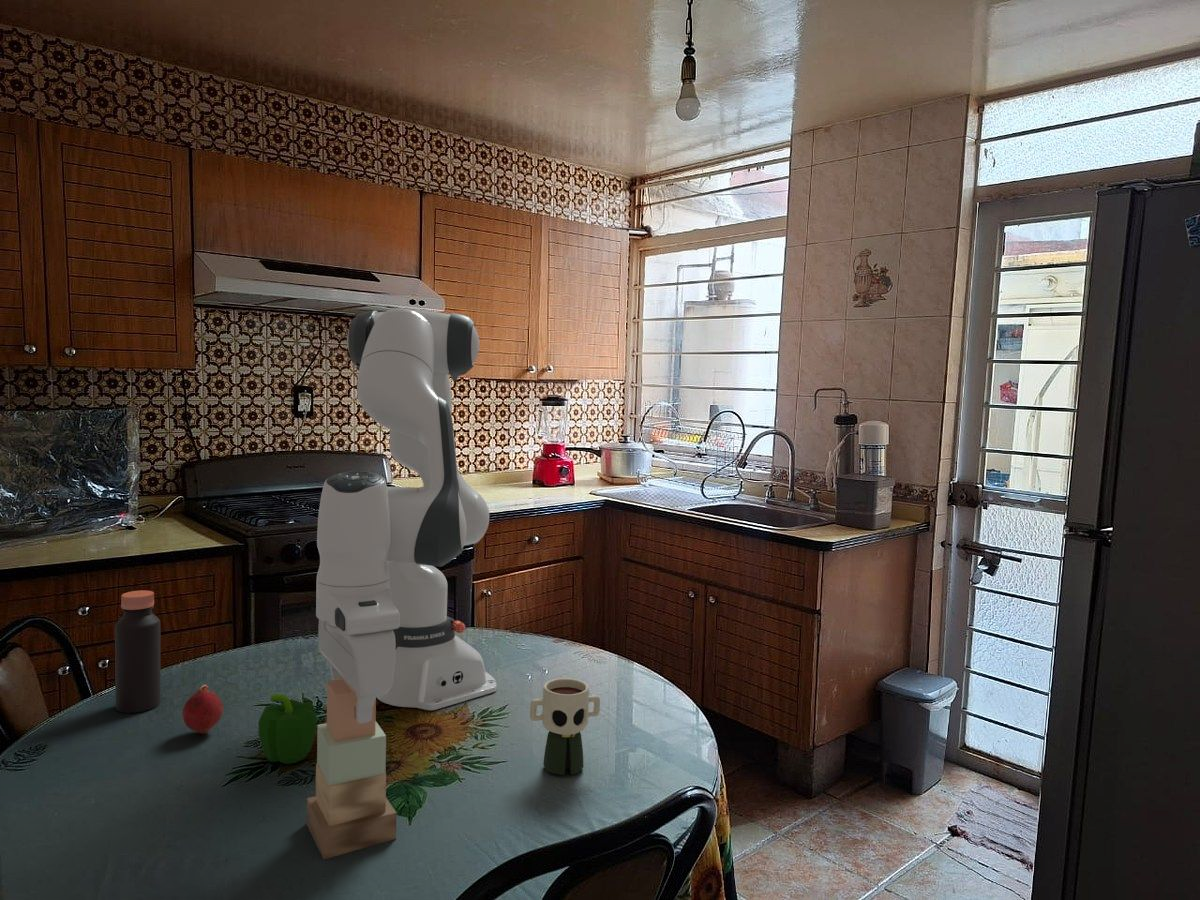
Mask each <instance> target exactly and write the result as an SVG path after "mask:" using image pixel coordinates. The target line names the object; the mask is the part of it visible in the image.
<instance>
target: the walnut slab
mask: <svg viewBox="0 0 1200 900" xmlns="http://www.w3.org/2000/svg"><path fill="white" fill-rule="evenodd" d="M397 814H398V813H397V811H396V810H395V808H394V807H393V806H392V804H391V803H390V801H389V800H388V798H387V797H386V812H382V813H378V814H375V815H371V816H367V817H363V818H359V819H356V820H352V821H348V822H344V823H340V824H337V825H333V826H329V825H328V823H327V821H326V819H325V817H324V815H323V813H322V811H321V810H320V808H319V806H318V804H317V802H316V795H314V796H311V797H310V796H309V797H307V798H306V825H307V828H308V830H309V832H310V833H311V834H310V835H312V838H313V840H314V842H315V844H316V846H317V849H318V851H319V853H320V855H321V856H322V859H323V860H327V859H330V858H334V857H337V856H341V855H345V854H347V853H351V852H355V851H357V850H362V849H366V848H369V847H372V846H376V845H380V844H383V843H387V842H391V841H393V840H396V839H397Z"/></svg>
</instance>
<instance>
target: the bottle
mask: <svg viewBox="0 0 1200 900" xmlns="http://www.w3.org/2000/svg"><path fill="white" fill-rule="evenodd" d="M120 599H121V602H120V603H121V604H120V608H121V611H122V612H123V615H122V616H121V618H119V619H118V621H116V622H115V625H114V626H115V627H114V633H115V634H114V652H115V653H114V654H115V655H114V656H115V659H114V665H115V667H114V669H115V671H114V672H115V674H114V675H115V679H114V680H115V681H114V682H115V687H114V688H115V710H117V711H118V712H120V713H123V714H135V713H142V712H146V711H149V710H152V709H155V708H156V707H158V706H159V705H160V703H161V698H162V697H161V694H162V693H161V690H162V689H161V687H162V686H161V683H162V682H161V678H162V677H161V619H160V618H159V617H158V616H157V615H156V614H154V613H153V609H154V605H155V592H154V591H152V590H142V589H141V590H132V591H128V592H125V593H122V594H121V596H120Z"/></svg>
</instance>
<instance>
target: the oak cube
mask: <svg viewBox="0 0 1200 900" xmlns="http://www.w3.org/2000/svg"><path fill="white" fill-rule="evenodd" d="M386 793H387V773H386V774H381V775H377V776H372V777H368V778H363V779H358V780H354V781H349V782H345V783H340V784H335V785H331V786H328V784H327V781H326V779H325V777H324V775H323V773H322V771H321V769H320V767H319V765H318V763H317V762H316V763H315V796H316V802H317V804H318V806H319V808H320V810H321V811H322V813H323V815H324V817H325V819H326V821H327V823H328V825H329V826H333V825H337V824H340V823H344V822H348V821H352V820H356V819H359V818H363V817H367V816H371V815H375V814H378V813H382V812H386V798H387V795H386Z"/></svg>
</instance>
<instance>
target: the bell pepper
mask: <svg viewBox="0 0 1200 900" xmlns="http://www.w3.org/2000/svg"><path fill="white" fill-rule="evenodd" d="M269 698H270V701H272V702H275V701H281V702H282V703H280V705H273V704H272V705H266V706H265V707H264V710H263V712H262V713H261V715H260V717H259V719H258V723H257V724H258V728H257V729H258V737H259V741H260V745H261V747H262V751H263V754H264V756H265V758H266V759H267V761H268V762H271V763H276V762H280V763H282V764H286V765H289V764H296V763H298V762H301V761H303V760H305V758H306V757H307V756H308V754H309V753H310V752H311V750H312V748H313V744H314V740H315V736H316V733H317V726H318V724H317V721H318V719H317V712H316V709H315V706H314V704H313V702H312V701H305V702H302V701H299V700H295V699H292V698H289V697H288V696H286V695H285V694H281V693H279V694H278V693H276V694H272V695H270V697H269Z"/></svg>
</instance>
